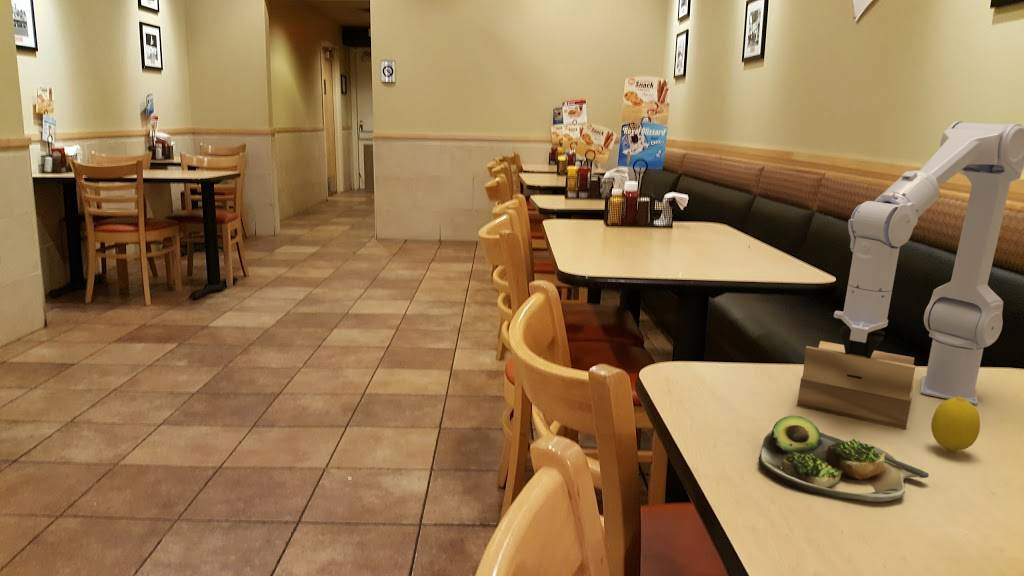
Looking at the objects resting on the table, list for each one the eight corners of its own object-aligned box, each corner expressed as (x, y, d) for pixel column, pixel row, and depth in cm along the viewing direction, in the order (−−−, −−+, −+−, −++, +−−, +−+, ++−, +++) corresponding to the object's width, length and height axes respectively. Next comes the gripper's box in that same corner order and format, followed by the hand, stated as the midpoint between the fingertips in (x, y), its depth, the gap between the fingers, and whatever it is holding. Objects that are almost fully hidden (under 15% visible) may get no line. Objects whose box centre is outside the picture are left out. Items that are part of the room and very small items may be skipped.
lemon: (980, 464, 97) (992, 407, 95) (934, 458, 98) (945, 402, 96) (964, 446, 102) (975, 392, 100) (921, 441, 103) (931, 387, 101)
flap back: (814, 356, 123) (814, 359, 124) (911, 375, 117) (911, 377, 117) (820, 340, 128) (820, 343, 128) (914, 357, 121) (914, 360, 121)
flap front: (806, 345, 110) (806, 347, 110) (915, 365, 103) (915, 367, 103) (803, 377, 113) (802, 379, 112) (909, 398, 106) (908, 400, 105)
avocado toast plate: (920, 461, 98) (926, 429, 97) (934, 526, 82) (942, 488, 81) (767, 430, 105) (771, 400, 104) (752, 484, 89) (757, 449, 88)
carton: (808, 383, 124) (812, 358, 123) (908, 404, 117) (913, 377, 116) (796, 405, 114) (800, 378, 113) (905, 429, 107) (911, 400, 106)
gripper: (845, 274, 113) (831, 358, 116) (833, 291, 101) (818, 385, 104) (896, 281, 110) (881, 368, 113) (890, 300, 98) (873, 396, 101)
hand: (854, 377), depth 108 cm, fingers closed, pressing on flap front
